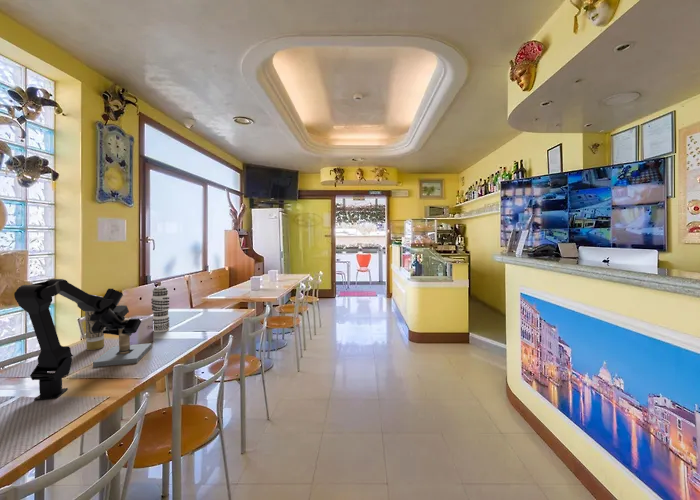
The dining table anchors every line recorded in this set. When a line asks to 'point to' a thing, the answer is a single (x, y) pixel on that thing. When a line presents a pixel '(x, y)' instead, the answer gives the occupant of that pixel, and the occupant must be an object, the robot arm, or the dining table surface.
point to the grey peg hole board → (122, 355)
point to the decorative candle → (160, 309)
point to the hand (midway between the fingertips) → (126, 334)
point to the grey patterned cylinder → (93, 334)
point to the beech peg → (124, 341)
